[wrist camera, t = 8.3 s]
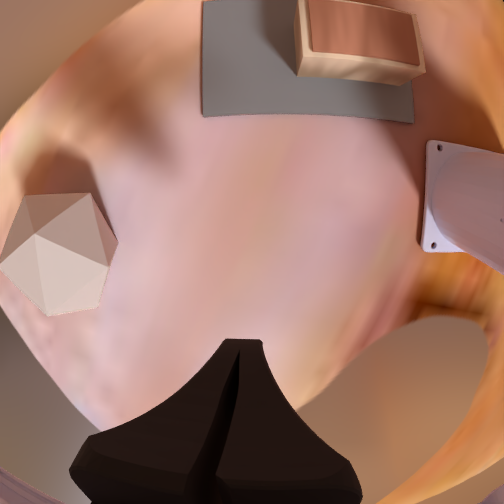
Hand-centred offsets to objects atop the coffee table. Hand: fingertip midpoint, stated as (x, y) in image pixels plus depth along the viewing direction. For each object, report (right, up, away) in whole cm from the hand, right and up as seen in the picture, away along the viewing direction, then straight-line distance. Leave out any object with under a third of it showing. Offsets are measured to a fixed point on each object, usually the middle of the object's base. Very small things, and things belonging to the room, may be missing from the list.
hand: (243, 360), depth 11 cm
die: (-12, +5, +10) cm, 17 cm away
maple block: (+3, +16, +3) cm, 17 cm away
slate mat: (+4, +17, +5) cm, 18 cm away
